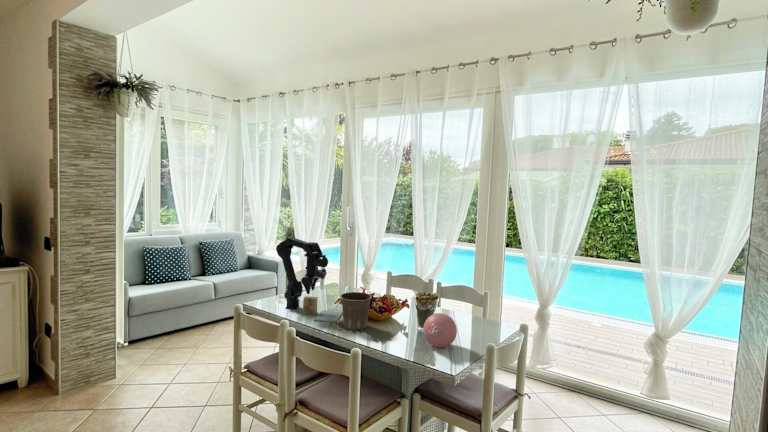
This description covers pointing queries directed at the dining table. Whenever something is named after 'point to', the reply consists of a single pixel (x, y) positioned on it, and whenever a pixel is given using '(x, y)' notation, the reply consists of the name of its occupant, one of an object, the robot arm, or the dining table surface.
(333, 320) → the mat
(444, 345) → the pink ball
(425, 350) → the dining table surface
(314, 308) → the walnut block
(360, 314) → the plant pot
